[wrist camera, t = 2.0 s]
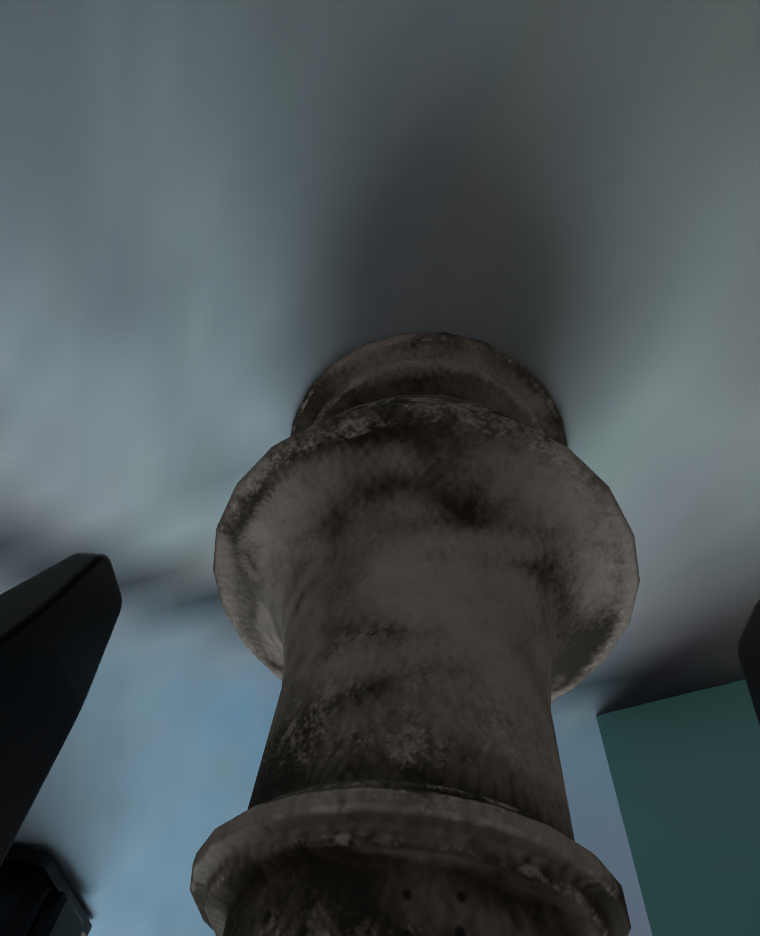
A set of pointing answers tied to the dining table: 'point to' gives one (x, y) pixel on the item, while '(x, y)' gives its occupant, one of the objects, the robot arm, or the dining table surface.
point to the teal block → (691, 807)
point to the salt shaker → (418, 655)
